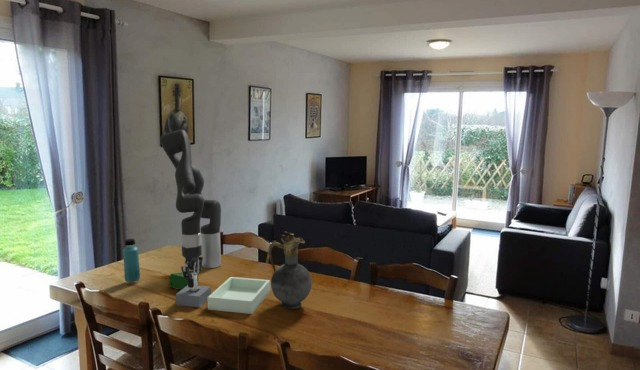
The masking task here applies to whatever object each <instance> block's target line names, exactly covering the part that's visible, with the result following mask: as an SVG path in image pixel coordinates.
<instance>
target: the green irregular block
mask: <svg viewBox="0 0 640 370" xmlns="http://www.w3.org/2000/svg"><path fill="white" fill-rule="evenodd" d="M168 284H169V287H170V288H173V289H177V290H179V291H181V290H182V289H183V288H185V287H186V286H187V285H188V279H184V276H183V273H182V272H177V273H176V272H175V273H170V276H169V283H168Z"/></svg>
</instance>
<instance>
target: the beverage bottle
mask: <svg viewBox="0 0 640 370" xmlns="http://www.w3.org/2000/svg"><path fill="white" fill-rule="evenodd" d="M124 245H125V246H126V247H124V248H123V249H122V254H123V255H122V256H123V257H122V258H123V270H124V275H123V276H124V281H125V282H127V283H134V282H138V281H140V279H141V269H140V256H139V248H138V247H137V246H136V240H135V239H134V238H128V239H125V240H124Z"/></svg>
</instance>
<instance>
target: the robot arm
mask: <svg viewBox="0 0 640 370" xmlns="http://www.w3.org/2000/svg"><path fill="white" fill-rule="evenodd" d="M159 140H160V145H161V147H162V148H163V151H164V152H165V155H166V156H167V157H168V158H169V160H170V161H171V164H172V165H173V166H174V168H175V172H174V179H175V183H176V184H175V185H176V188H177V190H176V192H177V193H176V199H175V208H176V210H177V211H178V212H179V213H182V214H185V213H192V215H190V216H188V217H185V218H183V219H181V223H180V224H181V239H180V240H181V256H182V257H183V258H185V261H184V265H183V266H181V267H180V269H181V273H183V276H184V279H188V287H189V288H193V287H194V273H195V271H196V272H197V285H198V284H199V275H200V272H202V268H205V269H214V268H215V269H216V268H218V267H220V266H221V265H222V258H221V257H222V256H221V252H222V251H221V248H222V247H221V224H222V222H221V220H222V218H221V217H222V206H221V203H220V202H219V201H218V200H213V199H205V197H204V196H203V194H202V191H203V189H204V185H205V179H204V176H203V175H202V173H201V170H200V169H199V168H198V167H197V166H196V165H194V164H193V163H192V162H193V161H192V147H191V142H190V141H191V140H190V137H189V136H188V133H187V132H186V130H184V129H183V128H182V129H181V128H180V129H176V130H174V131H170V132H167V133H164V134H162V135H161V136H160V138H159ZM179 153H181V156H180V155H179ZM201 219H205V220H208V219H209V223H207V224H204V225H202V226H201ZM190 273H191V274H190Z"/></svg>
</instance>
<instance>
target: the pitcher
mask: <svg viewBox="0 0 640 370" xmlns="http://www.w3.org/2000/svg"><path fill="white" fill-rule="evenodd" d="M285 233H286V234H287V235H285V234H280V236H282V237H281V242H282V243H280V242H277V241H275V242H272V243H270V244H269V246H268V252H267V253H268V258H269V261H270V263H271V265H272V269H273V271H274V272H273V273H272V276H271V279H270V288H271V290H272V293H273V296H274V297H275V298H276V299H277V300H278V301H279V302H281V306H282V307H283V308H284V309H285V310H297V309H299V308H301V307H302V302H303V301H305V300H306V299H307V298H308V296H309V295H310V294H311V290H312V285H313V280H312V276H311V274H310V271H309V270H308V269H307V268H306V266H303V264H300V263H299V260H298V259H299V258H298V257H299V250H298V249H299V244H305V243H306V241H305V240H304V239H303V238H302V237H297V236H296V237H295V236H294V233H291V232H288V231H285ZM274 247H277V248H279V249H282V250H283V255H284V256H285V257H284V263H283V264H281V265H280V266H278V267H277V268H276V266H275V264H274V261H273V255H272V254H273V253H272V250H273V248H274Z"/></svg>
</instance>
